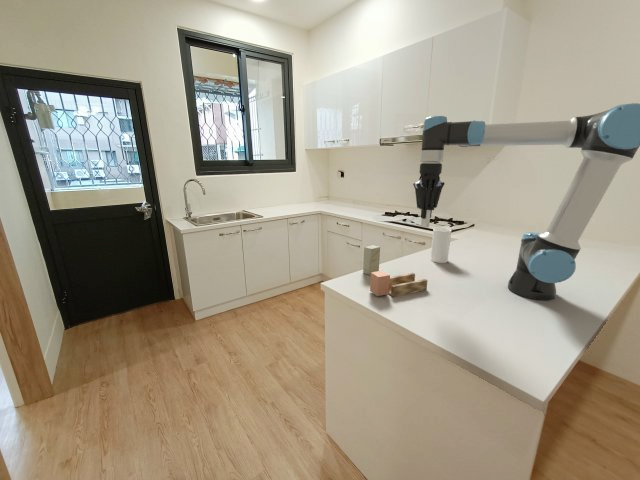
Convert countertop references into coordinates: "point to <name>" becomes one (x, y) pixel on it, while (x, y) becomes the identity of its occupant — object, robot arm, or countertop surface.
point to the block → (379, 283)
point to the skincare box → (371, 259)
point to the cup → (440, 245)
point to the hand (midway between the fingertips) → (425, 226)
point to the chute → (406, 285)
